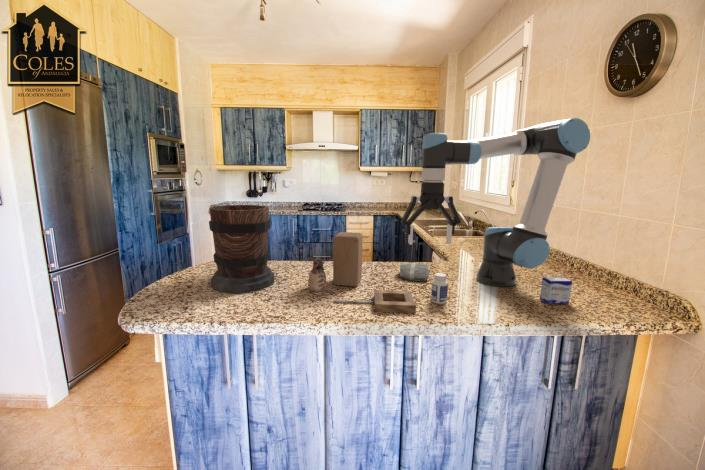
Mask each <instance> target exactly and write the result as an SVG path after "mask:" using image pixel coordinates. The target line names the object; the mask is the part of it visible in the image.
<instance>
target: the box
mask: <svg viewBox="0 0 705 470" xmlns="http://www.w3.org/2000/svg"><path fill="white" fill-rule="evenodd" d="M572 285H573V281H572V280H570V279H568V278H566V277H561V276H555V277H550V276H549V277H547V276H544V277H542V279H541V288H540V294H539V295H540V296H539V300H540V301H541V302H543V303H545V304H547V305H569V304H570V298H571V292H572V287H573V286H572Z"/></svg>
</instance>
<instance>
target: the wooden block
mask: <svg viewBox="0 0 705 470" xmlns="http://www.w3.org/2000/svg"><path fill="white" fill-rule="evenodd" d="M332 240H333V241H332V242H333V243H332V244H333V245H332V251H333V253H332V256H333V257H332V260H333V261H332V264H333V265H332V270H333V271H332V276H333V277H332V283H333V285H335V286H341V285H342V286H343V287H344V286H345V287H355V288H357V287H358V286H359V284H360V282H361V281H362V276H363V275H362V271H363V270H362V269H363V266H362V264H363V233H361V232H353V231H352V232H351V231H349V232H347V231H340V232H338V233H336V234H335V235H333V238H332ZM342 286H341V287H342Z"/></svg>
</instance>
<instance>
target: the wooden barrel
mask: <svg viewBox="0 0 705 470" xmlns="http://www.w3.org/2000/svg"><path fill="white" fill-rule="evenodd" d="M209 216H210V220H208V225H209V230H210V232H212V237H213V247H214V254H213V255H212V256H213V257H212V258H213V262H214V264H215V265H216V268H217V270H215V271H214V273H213V276H212V277H211V278H210V287H211V288H212V290H213V291H216V292H217V293H218V292H219V293H221V294H223V293H225V294H246V293H253V292H259V291H261V290H265V289H267V288H270V287H271V286H272V285H273V284H274V283H275V272H273V271H272V269H271V268H270V267H269V266H268V261H269V260H270V253H271V252H270V250H269V230H270V229H271V226H272V224H271V222H272V220H271V218H270V207H269V206H267V205H258V204H257V205H255V204H231V205H230V204H229V205H218V206H212V207H209Z"/></svg>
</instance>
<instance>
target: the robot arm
mask: <svg viewBox="0 0 705 470" xmlns="http://www.w3.org/2000/svg"><path fill="white" fill-rule="evenodd" d="M590 141H591V131H590V128H589V125H588V124H587V123H586V122H585V121H584V120H583V119H581V118H579V117H578V118H577V117H572V118H571V117H570V118H564V119H560V120H553V121H550V122H544V123H539V124H536V125H533V126H530V127H526V128H523V129H517V130H514V131H513V132H512V133H508V134H501V135H495V136H488V137H482V138H481V137H480V138H474V139H467V140H450V139H448V134H447V133H443V132H431V133H427V134H425V135H424V137H423V146H422V166H421V181H422V182H421V183H420V184H421V185H420V196H416V195H412V196H411V197H410V202H409V205H408V207H407V208H406V210H405V212H404V214H403V215H402V218H401V220H400V222H401V224H404V225H405V234H406V235H408V237H407V238H408V239H407V240H408V241H407V243H408V244H409V245H410V246H411V245H413V237H414V233H413V232H414V225H413V223H414V222H415V221H416V220H417V218H418V217H419V216H420V215H421V214H422V213H423V212H424V211H425V210H428V211H430V210H438V211H439V212H440V214H442V215H443V217H444V218H445V219H446V221H447V222H448V223H449V224H447V225H446V238H445V243H446V244H447V245H452V237H453V235H455V229H456V226H457V225H458V224H461V223H462V222H461V219H460V216H459V214H458V211H457V209H456V207H455V204H454V197H453V196H450V195H448V196H445V182H444V181H445V179H446V165H448V166H449V165H475V164H477V163H478V162H479V161H480V160H481V159H489V158H495V157H502V156H506V155H508V156H509V155H512V154H513V155H514V156H523V155H524V156H525V155H534V156H535V155H537V156H538V157H537V158H539V160H540V162H539V165H538V166H537V167H538V168H537V170H536V174H535V176H534V179H533V181H532V185H531V188H530V190H529V193H528V196H527V198H526V202H525V205H524V207H523V212H522V214H521V216H520V220H519V222H518V224H515V225H513V226H490V227H489V226H488V227H487V228H485V232H484V237H483V239H484V240H483V251H482V252H483V253H482V261H481V264H480V265H479V268H478V271H477V273H476V280H477V281H479V282H480V283H482V284H485V285H489V286H495V287H504V288H505V287H513V286H515V285H516V284H517V283H516V282H517V277H516V272H515V268H514V265H516V266H518V267H521V268H525V269H536V268H538V267H539V266H542V265H543V264H544V263H545V262H546V261H547V260H548V258H549V256H550V253H551V247H550V244H549V242H548V241H547V238H548V234H547V232H546V227H547V224H548V221H549V219H550V215H551V212H552V209H553V207H554V204H555V201H556V199H557V197H558V193H559V191H560V188H561V187H560V186H561V185H562V182H563V178H564V176H565V173H566V171H567V167H568V165H570V164H572V163H573V162H575V159H576V156H577V155H578V153H581V152H583V151H584V150H585V149H587V147H588V146H589V145H590ZM418 202H420V205H419V206H418V207H417V209H416V210H415V211H414V212H413V210H414V208H415V207H416V205H417V203H418ZM444 202H445V203H446V205H447V206H448V210H449V211H450V214H451V215H450V214H449V213H448V211H447V209H446V208H445V206H444V205H443V203H444ZM412 212H413V213H412ZM411 214H412V215H411Z"/></svg>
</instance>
